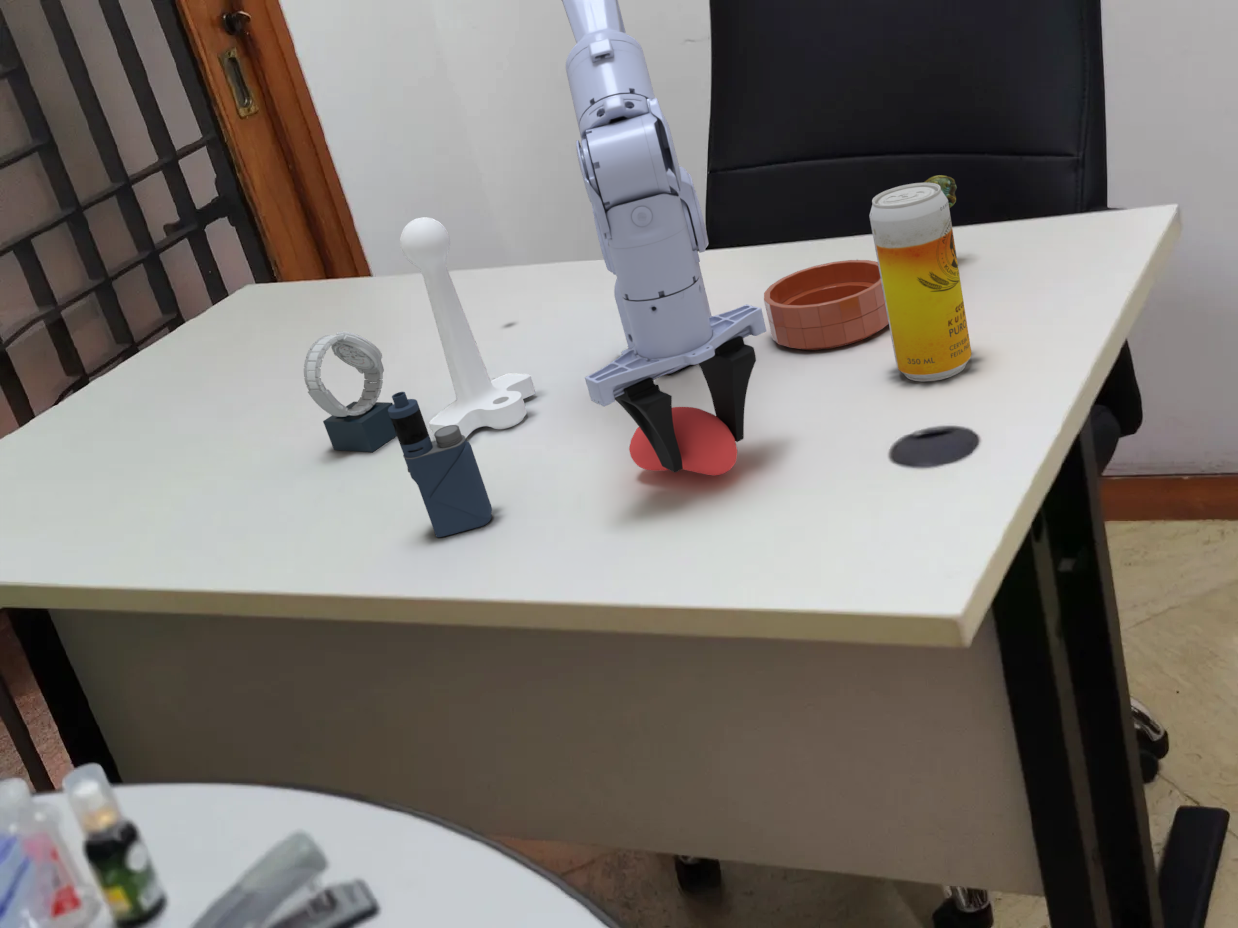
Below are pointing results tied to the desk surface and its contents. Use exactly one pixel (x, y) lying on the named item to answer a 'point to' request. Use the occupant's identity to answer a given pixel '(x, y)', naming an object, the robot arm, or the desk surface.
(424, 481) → the vaping device
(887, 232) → the beer can
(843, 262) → the bowl
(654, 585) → the desk surface
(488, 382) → the joystick
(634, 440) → the red kidney bean
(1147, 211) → the desk surface
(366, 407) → the watch
